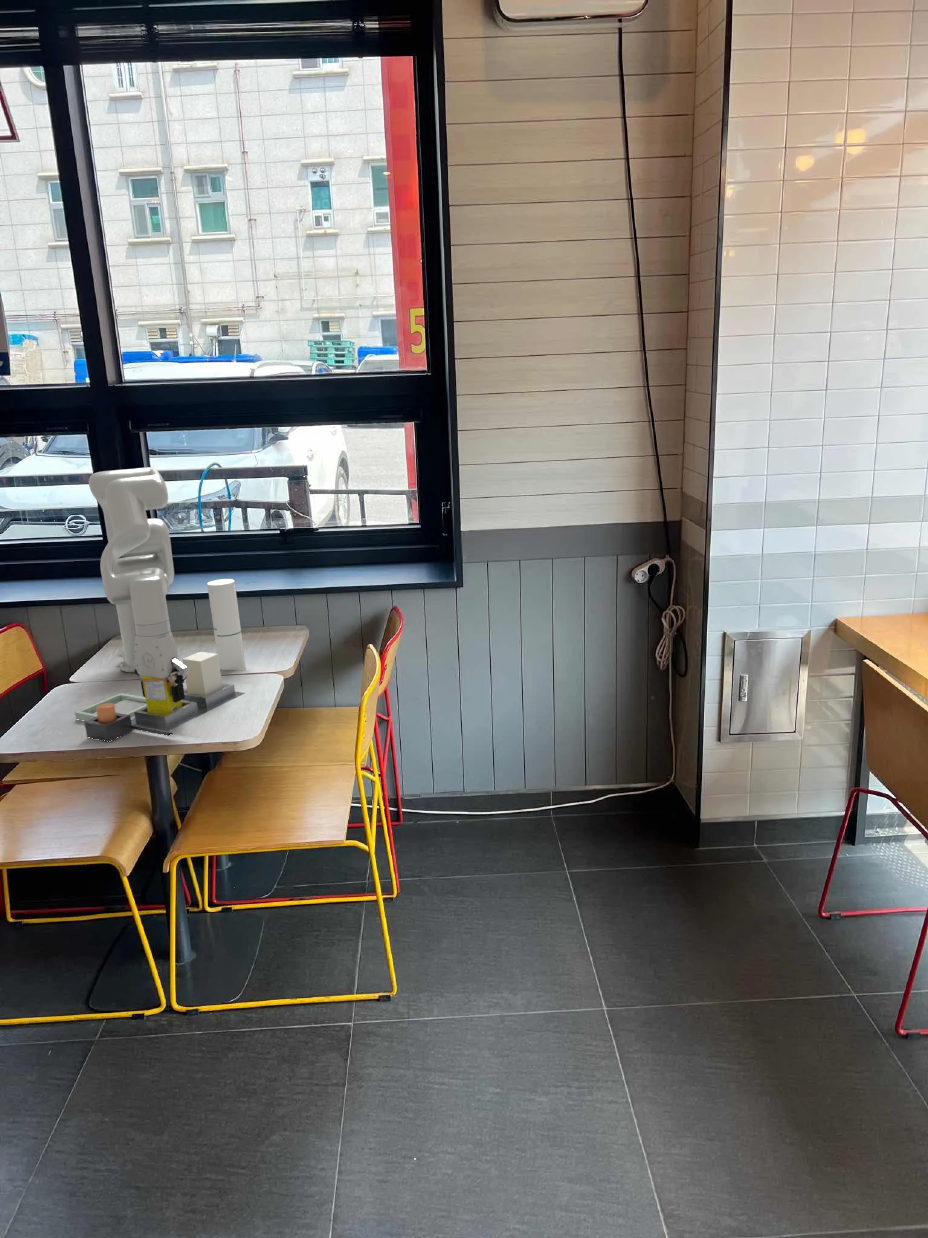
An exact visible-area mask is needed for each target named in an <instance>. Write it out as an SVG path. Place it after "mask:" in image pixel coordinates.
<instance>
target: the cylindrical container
mask: <svg viewBox="0 0 928 1238" xmlns="http://www.w3.org/2000/svg"><path fill="white" fill-rule="evenodd" d="M206 585H207V591H208V599H209V605H210V613H211V619H212V626H213V634H214V640H215V647H216V650H215V651H216V654H218V658H219V665H220V670H222V671H233V670H234V671H240V672H243V671H245V670H246V668H247V666H246V660H245V659H246V658H245V651H244V644H243V637H242V629H241V620H240V613H239V607H238V598H237V597H238V596H237V592H236V591H237V590H236V584H235V580H234V579H232V578H221V579H216V580H215V579H214V580H211V581H208V582H207V584H206Z"/></svg>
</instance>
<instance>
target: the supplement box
mask: <svg viewBox="0 0 928 1238" xmlns="http://www.w3.org/2000/svg"><path fill="white" fill-rule="evenodd" d="M171 673H172V672H171ZM173 677H174V679H175V680H176V676H173ZM142 681H143V687H144V693H145V699H146V702H145V705H146V704H147V710H148V712H150V713H155V714H161V715H167V714H169V713H171V712H173V711H175V710H177V709H179V708H181V707H182V702H181V700H180V701H178V702H173V698H172V692H171V686H173V685H172V684H171V682H170V681H169V679H168V678H166V679H158V678H153V677H147V676H144V677H143V678H142Z"/></svg>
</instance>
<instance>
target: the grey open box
mask: <svg viewBox="0 0 928 1238" xmlns="http://www.w3.org/2000/svg"><path fill="white" fill-rule="evenodd" d="M222 687H223V688H222V689H220V690H218V691H215V692H213V693H211V694H209V695H207V696H201V695H194V694H188V693H187V687H186V688H184V694H185V698H184V699H183V700H181V702H182V707H181V708H179V709H177V710H175V711H173V712H171V713H169V714H167V715H161V714H155V713H150V712H148V710H147V706H146V707H144V708H141V709H139V710H137V711H135V712H134V714H135V715H134V717H133V719H131V724H132V730H135V729H136V730H137V731H141V730H142V732H146V731H148V733H152V734H156V733H157V734H158V735H161V734H164V735H163V736H166V735H167V737H170V736H171V735H170V734H172V735H173V732H170V731H171V730H173V729H175V728H177V727H179V726H182V725H183V724H185V723H188V722H190V721H192V720H194V719H196V718H197V717H200V716H203V715H204V714H207V713H208V712H210V711H212V710H214V709H216V708H218V707H220V706H223V705H224V704H226V703H229V702H230V701H233V700H234V699H237V698H239V697H240V696H242V695H245V694H246V692H242V691H236V690H235V689H236V688H235V684H234V683H227V682H222ZM133 728H134V729H133ZM136 730H135V731H136ZM169 735H170V736H169Z"/></svg>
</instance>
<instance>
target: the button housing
mask: <svg viewBox="0 0 928 1238" xmlns="http://www.w3.org/2000/svg"><path fill="white" fill-rule="evenodd" d="M116 716H117V719H115V720H113V721H111V722H109V723H101V722H98V717H95V718H93V719H90V720H88V721H86V722H83V723H84V726H85V727H84V728H85V733H86V737H90V738H93V739H99V740H103V741H104V740H105V741H108V742H109V741H111V740H113V739H115V740H117V739H118V738H117V737H119V738H121V737H120V736H122V737H124V736H125V735H124V734H126V735H128V734H130V733H132V732H134V731H133V730H134V729H132V726H133V725H132V724H131V720H132V719H131V717H130V715H126V714H125V713H120V712H116ZM131 731H132V732H131ZM127 733H128V734H127ZM123 735H124V736H123ZM116 738H117V739H116ZM93 739H92V740H93ZM103 741H102V742H103ZM113 741H114V740H113ZM108 742H107V743H108ZM111 742H112V741H111ZM109 743H110V742H109Z"/></svg>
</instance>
